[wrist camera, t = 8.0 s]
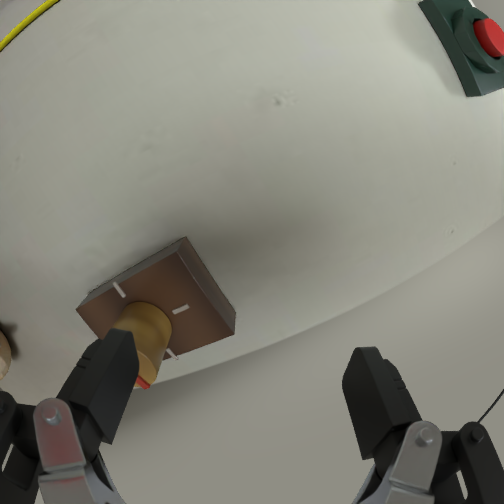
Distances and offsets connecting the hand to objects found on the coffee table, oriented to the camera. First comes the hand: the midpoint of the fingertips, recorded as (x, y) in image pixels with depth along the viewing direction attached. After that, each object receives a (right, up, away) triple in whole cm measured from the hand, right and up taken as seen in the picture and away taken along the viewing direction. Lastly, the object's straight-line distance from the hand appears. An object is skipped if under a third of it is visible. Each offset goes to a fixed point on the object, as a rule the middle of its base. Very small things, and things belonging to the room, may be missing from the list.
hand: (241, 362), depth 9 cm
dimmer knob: (-8, -2, +11) cm, 14 cm away
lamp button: (+21, +22, +1) cm, 30 cm away
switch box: (+20, +24, +4) cm, 32 cm away
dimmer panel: (-8, -1, +14) cm, 16 cm away
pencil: (-25, +27, +3) cm, 37 cm away
